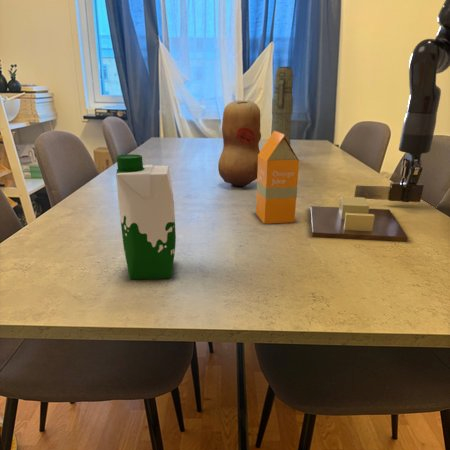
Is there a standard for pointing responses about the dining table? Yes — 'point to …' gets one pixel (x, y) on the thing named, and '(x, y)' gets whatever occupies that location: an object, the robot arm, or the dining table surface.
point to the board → (334, 228)
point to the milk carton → (146, 217)
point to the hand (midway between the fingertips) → (404, 200)
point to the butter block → (353, 206)
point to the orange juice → (277, 181)
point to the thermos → (282, 101)
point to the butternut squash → (240, 143)
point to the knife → (388, 192)
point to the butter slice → (359, 222)
